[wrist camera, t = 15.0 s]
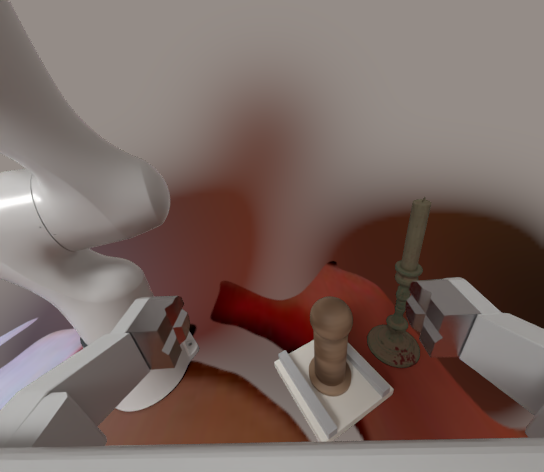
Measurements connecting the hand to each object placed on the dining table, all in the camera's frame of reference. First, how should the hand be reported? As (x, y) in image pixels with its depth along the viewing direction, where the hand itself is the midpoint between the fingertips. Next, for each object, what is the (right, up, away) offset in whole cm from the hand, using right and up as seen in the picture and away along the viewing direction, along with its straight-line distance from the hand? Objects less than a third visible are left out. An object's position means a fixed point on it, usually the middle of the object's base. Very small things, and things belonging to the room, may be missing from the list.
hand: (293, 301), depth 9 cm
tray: (+9, -23, +33) cm, 41 cm away
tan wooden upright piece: (+9, -21, +32) cm, 39 cm away
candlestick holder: (+22, -19, +37) cm, 47 cm away
